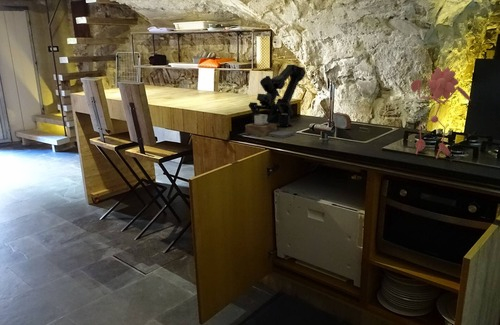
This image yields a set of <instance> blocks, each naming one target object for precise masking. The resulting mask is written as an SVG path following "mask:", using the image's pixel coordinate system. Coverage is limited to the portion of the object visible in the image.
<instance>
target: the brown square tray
mask: <svg viewBox="0 0 500 325" xmlns="http://www.w3.org/2000/svg"><path fill="white" fill-rule="evenodd" d="M277 125H278V123H273V122H268V125H265V126H257V125H255V122H252V123H248V124H245V125H244V126H245V134H246V133H247V134H253V135H252V136H254V135H258V136H257V137H260V136H264V137H267V136H266V135H268V133H271V132H275V131H278V126H277ZM247 134H246V135H247Z"/></svg>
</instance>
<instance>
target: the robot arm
mask: <svg viewBox="0 0 500 325" xmlns="http://www.w3.org/2000/svg"><path fill="white" fill-rule="evenodd" d="M305 75H306V69H304V67H301V66H297V65H296V64H287V65H286V67H285V68H284V69H283V70H282V71H281V72H280V73H279V75H276V76H273V77H272V78H271V76H270V75H266V76H265V77H263V78H261V79H260V81H259V83H260V86H261V87H262V89H263V91H264V92H265V93H257V98H256V101H259V104H258V103H257V102H253V101H252V102H249V104H248V108H249V109H250V111H251V120H252V121H255V118H254V115H258V114H259V112H260V110H265V111H269V113H268V114H267V117H268V118H267V122H268V123H269V122H270V121H271V120H273V119H274V118H275V117H277V116H278V125H280V126H279V127H281V126H287V125H289V124H291V117H292V116H293V115H294V111H293V109H292V105H291V104H292V103H291V101H292V98H293V96H294V94H295V91H296V88H297V86H298V84H299V82H300V81H302V80H303V79H304V78H305ZM288 79H289V81H288V84H287V87H286V89H285V91H284V93H283V96H282V98H278V99H277V102H276V98H277V97H280V92H279V91H278V90H282V89H283V88H284V87H285V86H286V81H287V80H288Z"/></svg>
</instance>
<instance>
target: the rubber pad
mask: <svg viewBox="0 0 500 325" xmlns="http://www.w3.org/2000/svg"><path fill="white" fill-rule="evenodd" d="M294 134H295V135H296V132H295V131H289V130H278V129H277V131H275V132H271V133H268V137H271V136H274V137H273V138H278V137H281V138H280V139H286V138H285V137H287V138H289V137H288V136H290V137H292V136H291V135H293V136H295V135H294Z"/></svg>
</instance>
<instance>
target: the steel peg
mask: <svg viewBox="0 0 500 325" xmlns="http://www.w3.org/2000/svg"><path fill="white" fill-rule="evenodd" d="M254 118H255V119H254V123H255V125H257V126H265V125H268V123H269V121H268V122H267V118H268V114H263V113H262V114H261V113H258V115H254Z"/></svg>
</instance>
